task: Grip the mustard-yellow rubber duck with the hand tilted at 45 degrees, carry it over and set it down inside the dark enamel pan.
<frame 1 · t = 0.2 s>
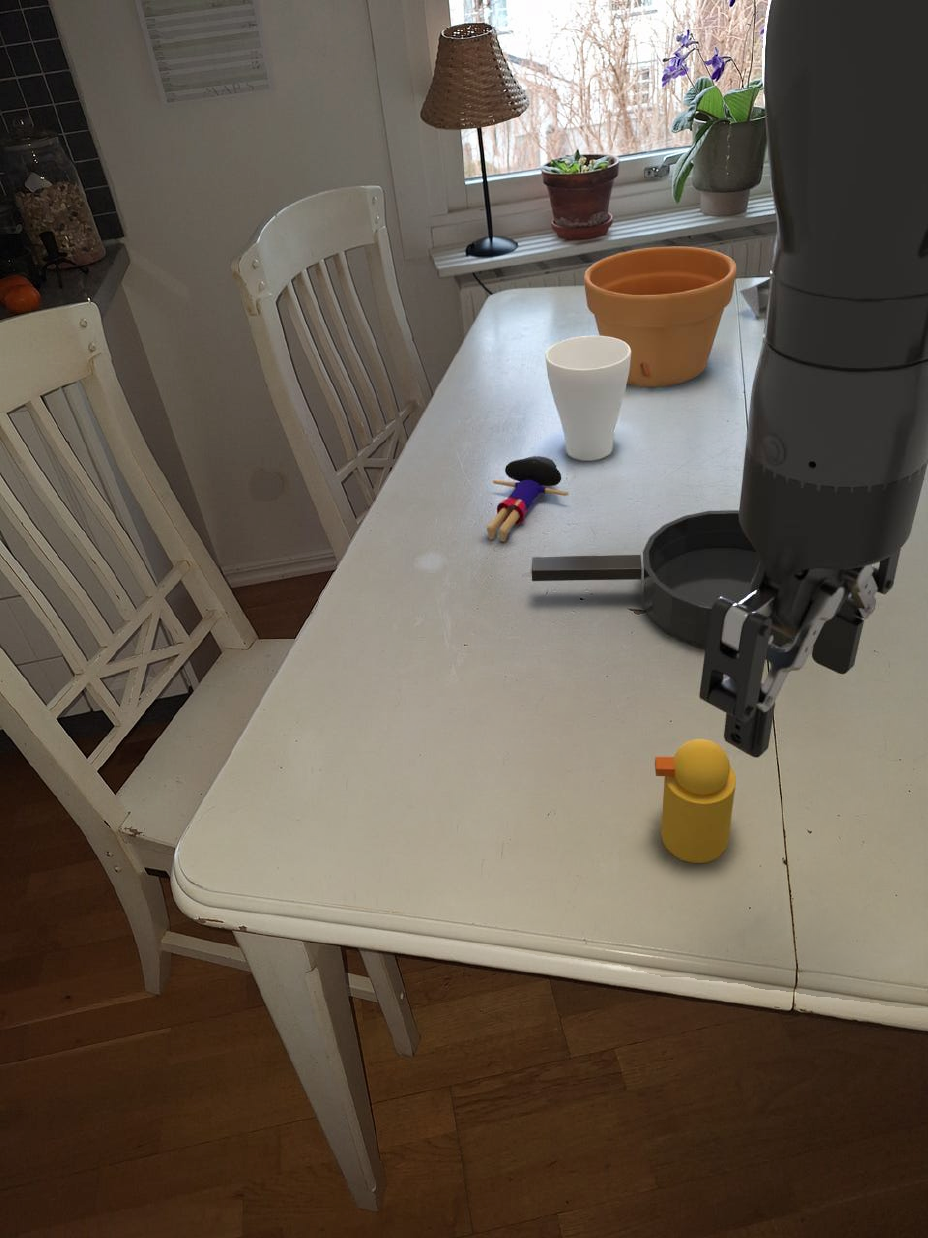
hand: (790, 704, 49), 22 cm above the table, tool pointing down, fingers open, 8 cm apart
paper boat: (766, 317, 146), on the table
pan handle: (586, 568, 90), point 3 cm above the table
cup: (589, 451, 117), on the table
toy: (523, 510, 108), on the table
pan: (727, 596, 91), on the table
rubber duck: (694, 836, 68), on the table
flower pot: (655, 368, 135), on the table
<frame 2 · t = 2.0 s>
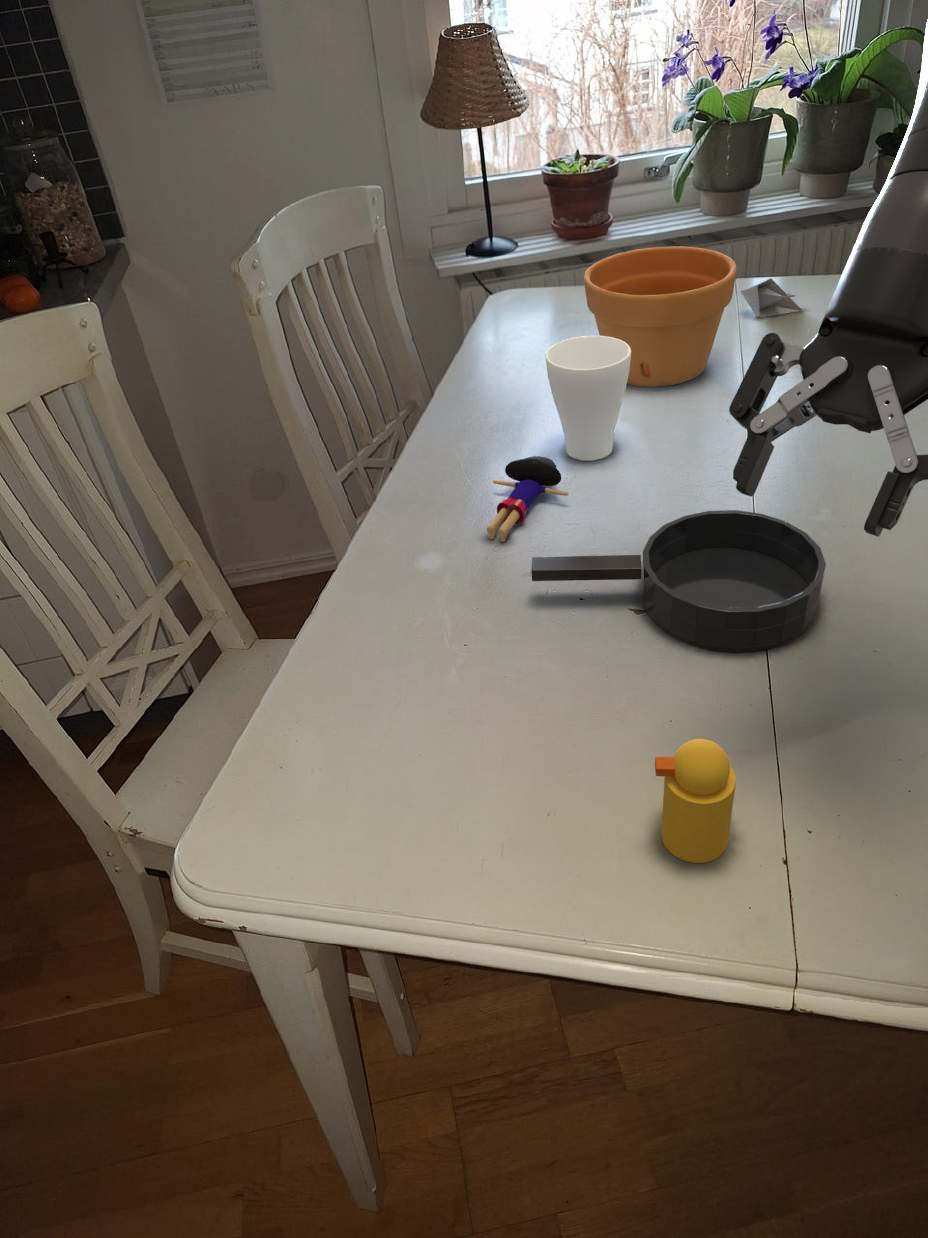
hand: (805, 512, 57), 25 cm above the table, tool tilted 40°, fingers open, 8 cm apart
nothing on the table moved.
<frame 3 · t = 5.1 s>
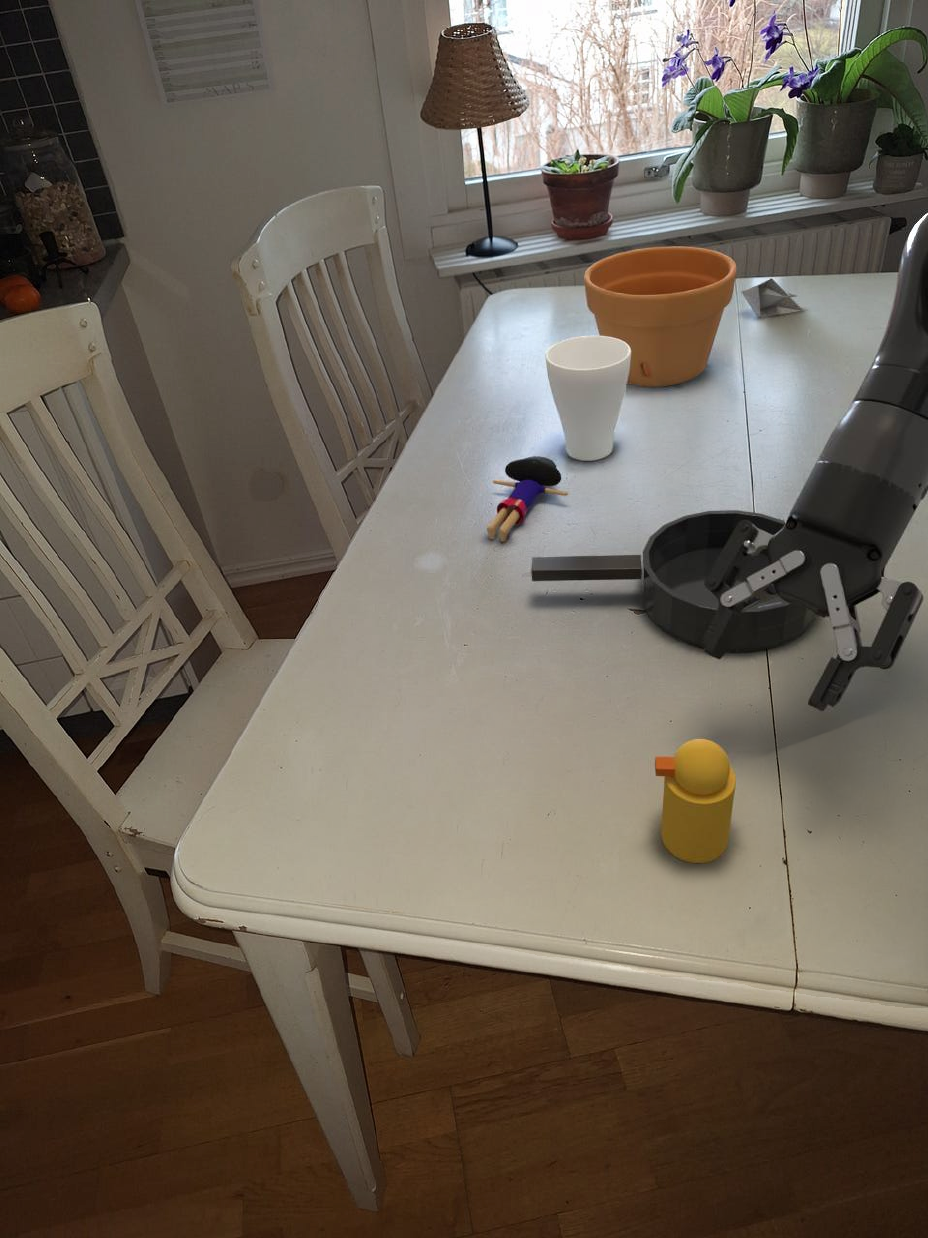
hand: (761, 681, 65), 11 cm above the table, tool tilted 45°, fingers open, 8 cm apart
nothing on the table moved.
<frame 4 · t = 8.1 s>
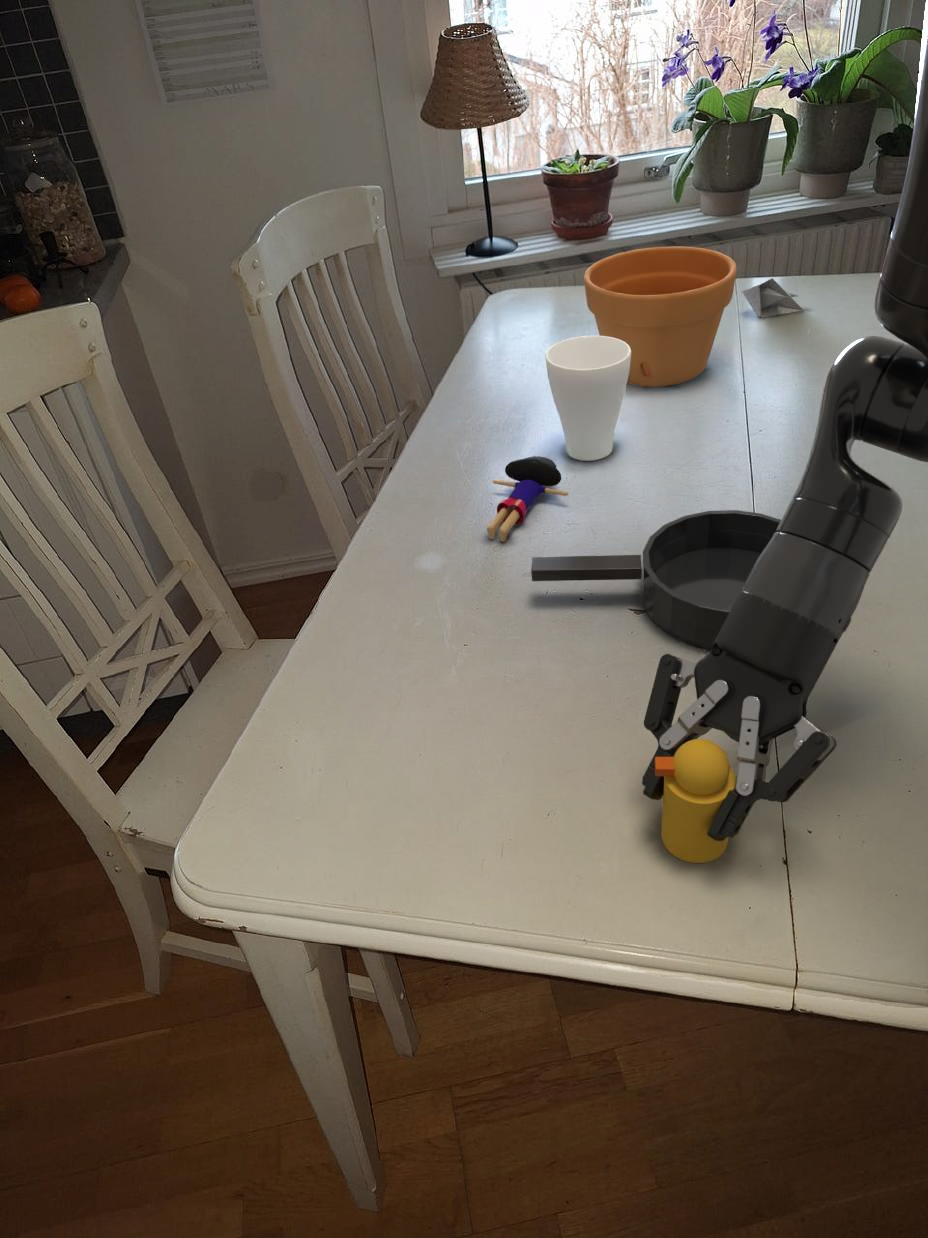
hand: (683, 816, 65), 4 cm above the table, tool tilted 45°, fingers closed on rubber duck, 5 cm apart
rubber duck: (694, 836, 68), on the table, touching gripper
everything else where it was.
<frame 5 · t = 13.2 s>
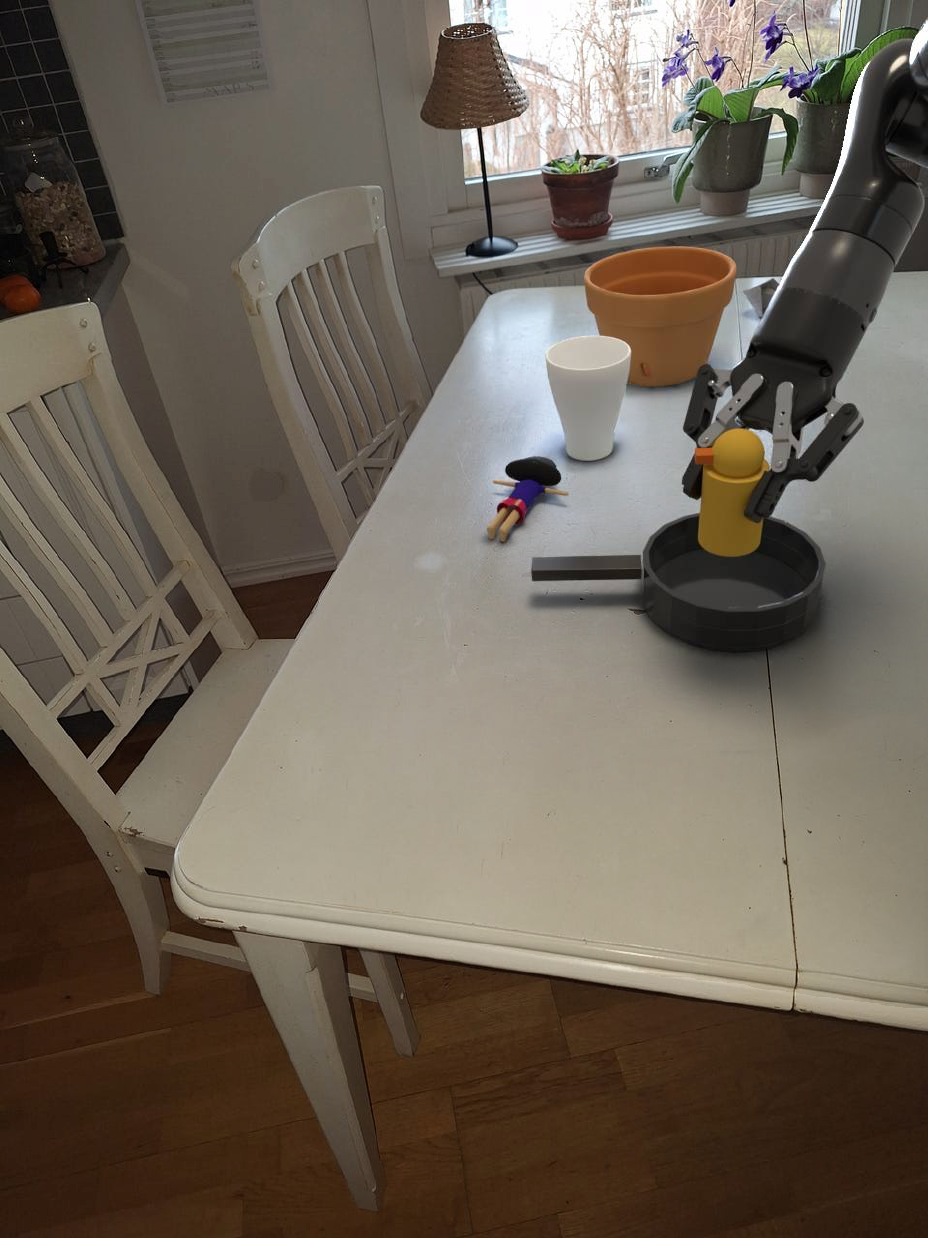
hand: (720, 506, 70), 18 cm above the table, tool tilted 45°, fingers closed on rubber duck, 5 cm apart
rubber duck: (728, 539, 74), point 14 cm above the table, touching gripper
everything else where it was.
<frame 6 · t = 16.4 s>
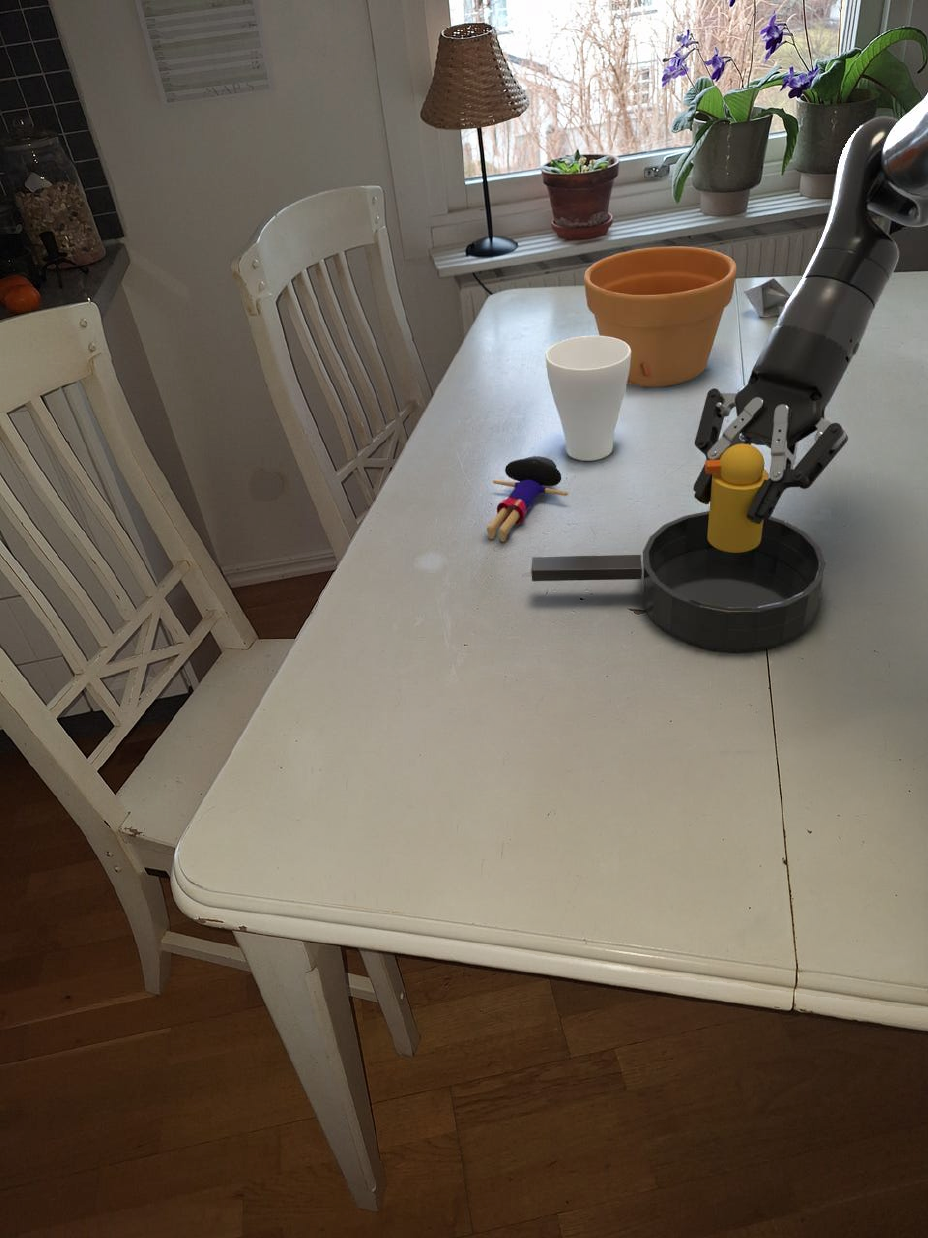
hand: (726, 510, 83), 11 cm above the table, tool tilted 45°, fingers closed on rubber duck, 5 cm apart
rubber duck: (733, 538, 86), point 7 cm above the table, touching gripper
everything else where it was.
when the fingers open (5 cm above the table, at t = 18.7 s): rubber duck stays where it is, resting on pan.
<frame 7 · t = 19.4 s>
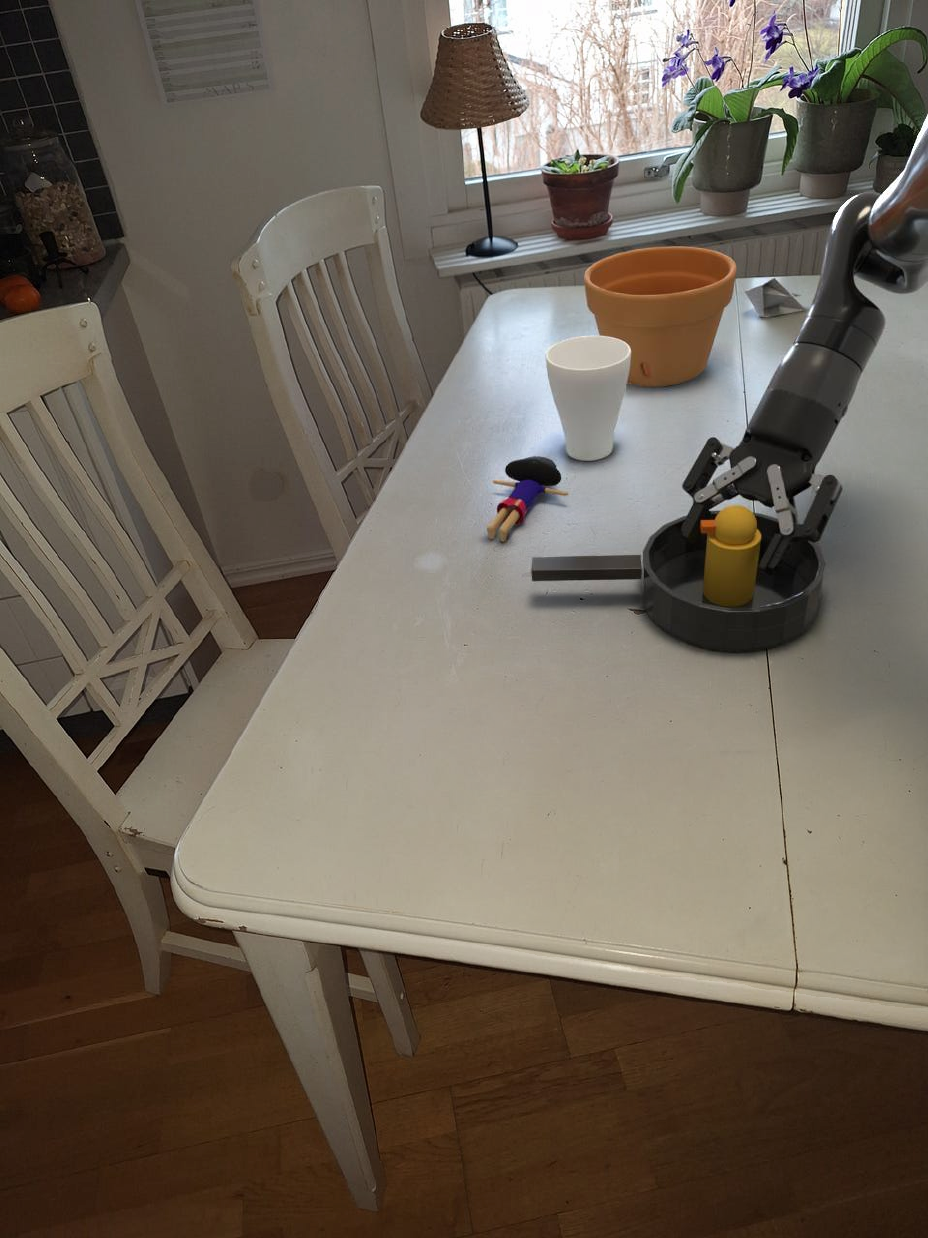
hand: (724, 556, 86), 6 cm above the table, tool tilted 45°, fingers open, 8 cm apart
rubber duck: (728, 591, 90), point 1 cm above the table, touching pan
everything else where it was.
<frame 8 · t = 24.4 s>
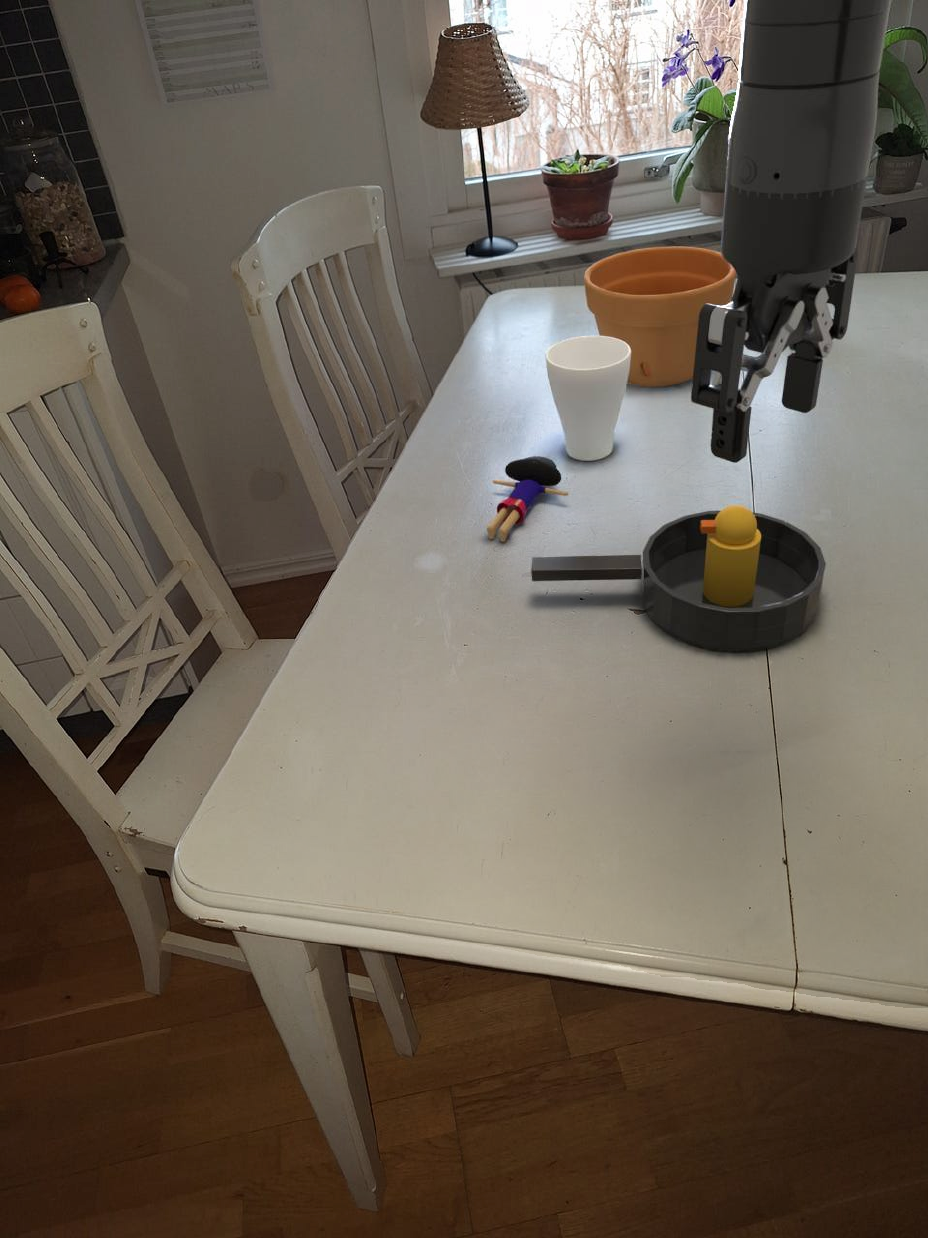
hand: (764, 432, 60), 28 cm above the table, tool pointing down, fingers open, 8 cm apart
nothing on the table moved.
at the end: rubber duck inside the target area in the pan (0.1 cm from its centre), point 0.6 cm above the pan's base; the gripper is holding nothing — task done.
